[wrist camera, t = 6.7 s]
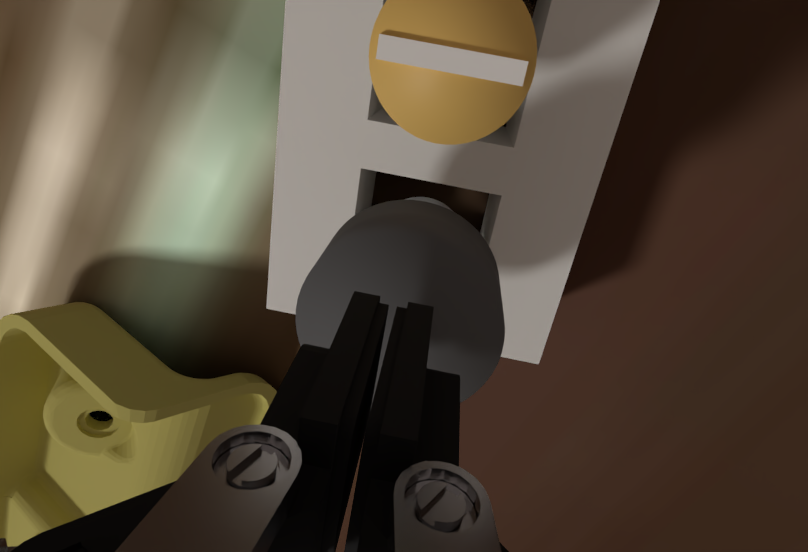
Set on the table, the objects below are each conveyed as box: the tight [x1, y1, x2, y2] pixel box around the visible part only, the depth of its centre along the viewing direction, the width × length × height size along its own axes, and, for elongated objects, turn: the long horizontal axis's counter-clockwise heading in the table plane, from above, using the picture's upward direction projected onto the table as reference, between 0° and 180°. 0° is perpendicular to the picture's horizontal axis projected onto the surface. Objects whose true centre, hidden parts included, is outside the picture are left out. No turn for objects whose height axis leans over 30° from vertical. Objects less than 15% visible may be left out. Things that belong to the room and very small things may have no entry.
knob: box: [295, 197, 505, 407], centre depth 15 cm, size 5×5×6 cm
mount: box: [266, 0, 660, 364], centre depth 17 cm, size 10×19×4 cm, turn 171°
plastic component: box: [0, 302, 277, 547], centre depth 27 cm, size 20×8×10 cm
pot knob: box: [369, 0, 537, 145], centre depth 13 cm, size 4×4×5 cm
